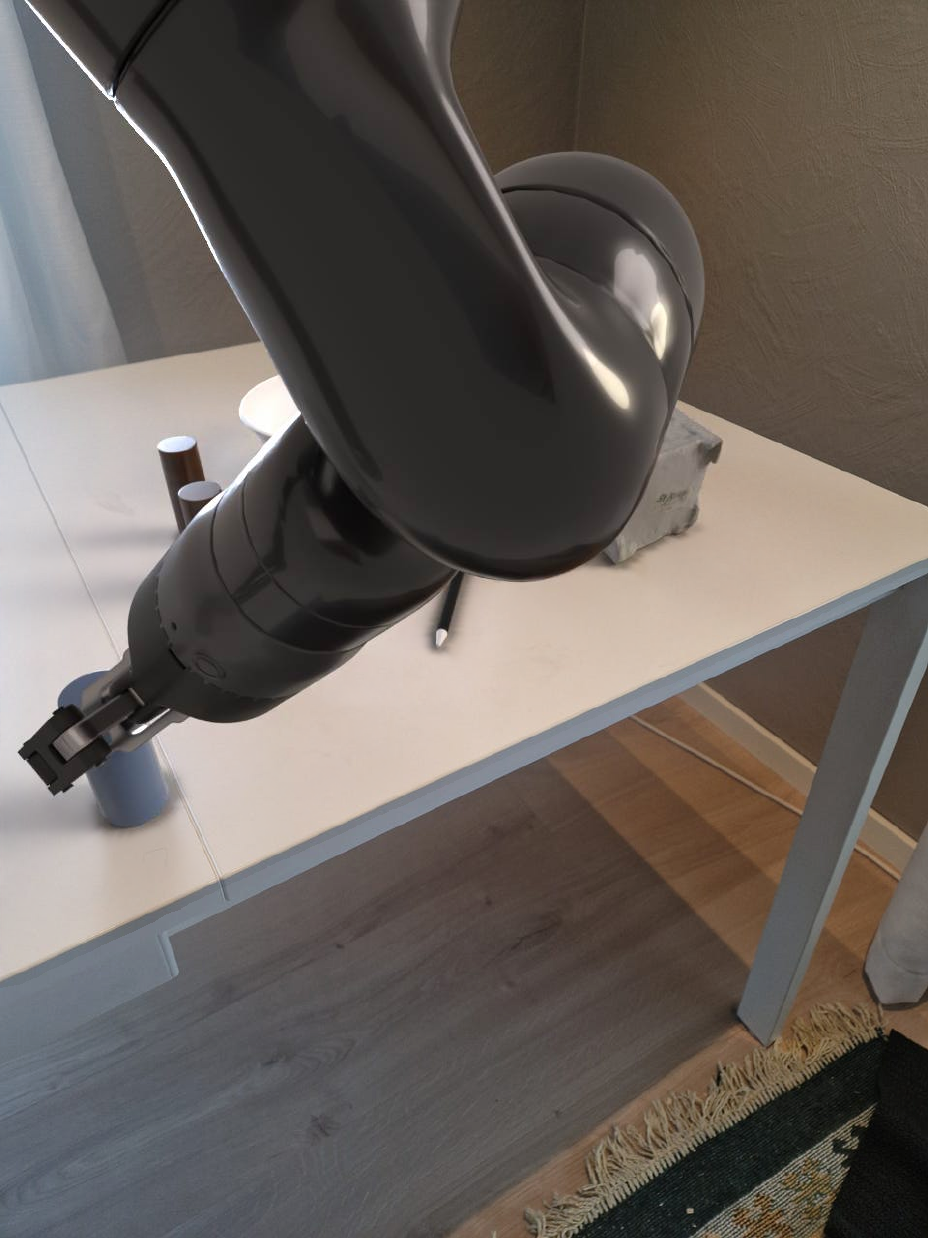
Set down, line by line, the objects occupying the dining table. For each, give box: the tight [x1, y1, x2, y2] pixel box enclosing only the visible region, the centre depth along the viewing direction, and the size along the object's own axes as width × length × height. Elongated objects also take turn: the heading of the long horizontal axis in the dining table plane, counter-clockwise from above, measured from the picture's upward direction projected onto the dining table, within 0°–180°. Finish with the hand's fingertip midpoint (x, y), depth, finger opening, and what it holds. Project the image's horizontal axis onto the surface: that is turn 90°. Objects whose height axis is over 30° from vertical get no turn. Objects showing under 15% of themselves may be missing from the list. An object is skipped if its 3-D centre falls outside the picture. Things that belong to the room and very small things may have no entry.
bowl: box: [238, 374, 299, 447], centre depth 88 cm, size 20×20×6 cm
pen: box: [435, 571, 465, 649], centre depth 72 cm, size 1×19×1 cm, turn 171°
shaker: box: [56, 669, 170, 828], centre depth 50 cm, size 4×4×9 cm
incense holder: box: [603, 406, 724, 565], centre depth 74 cm, size 10×8×10 cm
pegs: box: [157, 435, 223, 536], centre depth 72 cm, size 3×12×9 cm, turn 25°
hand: (138, 707), depth 45 cm, fingers open, 8 cm apart
